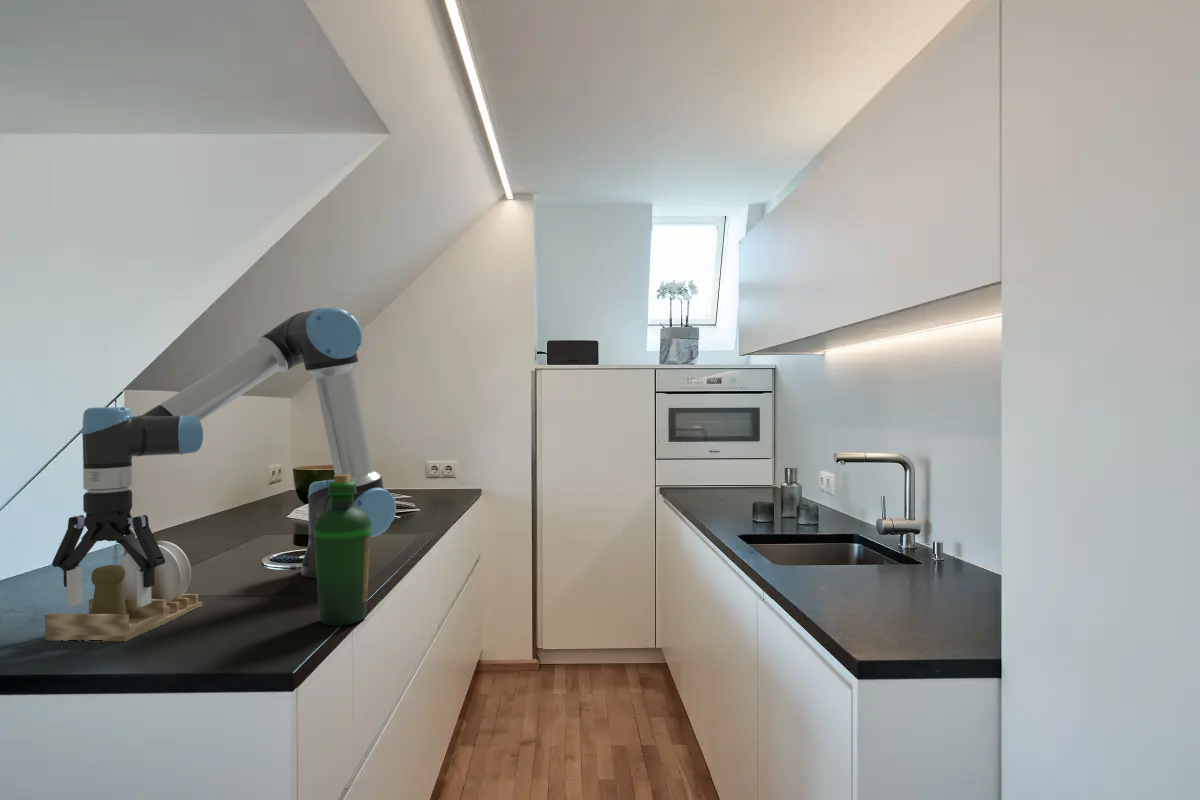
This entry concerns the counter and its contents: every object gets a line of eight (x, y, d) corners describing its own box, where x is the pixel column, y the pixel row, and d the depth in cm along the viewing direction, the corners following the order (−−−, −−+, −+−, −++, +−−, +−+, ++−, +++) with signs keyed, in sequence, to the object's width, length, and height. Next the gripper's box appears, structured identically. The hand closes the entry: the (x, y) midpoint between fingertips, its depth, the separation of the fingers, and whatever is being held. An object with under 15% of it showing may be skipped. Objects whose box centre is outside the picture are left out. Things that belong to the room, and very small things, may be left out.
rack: (202, 606, 149) (202, 539, 149) (124, 641, 127) (124, 562, 127) (133, 605, 150) (133, 538, 150) (44, 640, 128) (44, 561, 128)
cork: (101, 620, 136) (101, 562, 136) (135, 619, 136) (134, 561, 136) (81, 631, 130) (80, 570, 130) (116, 629, 130) (115, 569, 130)
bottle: (383, 615, 142) (382, 473, 142) (347, 631, 132) (347, 478, 132) (338, 610, 145) (338, 472, 145) (300, 626, 135) (300, 477, 135)
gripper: (27, 493, 130) (28, 609, 130) (158, 492, 128) (159, 610, 128) (61, 488, 138) (62, 598, 138) (185, 487, 136) (186, 599, 136)
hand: (109, 604), depth 133 cm, fingers open, 13 cm apart
